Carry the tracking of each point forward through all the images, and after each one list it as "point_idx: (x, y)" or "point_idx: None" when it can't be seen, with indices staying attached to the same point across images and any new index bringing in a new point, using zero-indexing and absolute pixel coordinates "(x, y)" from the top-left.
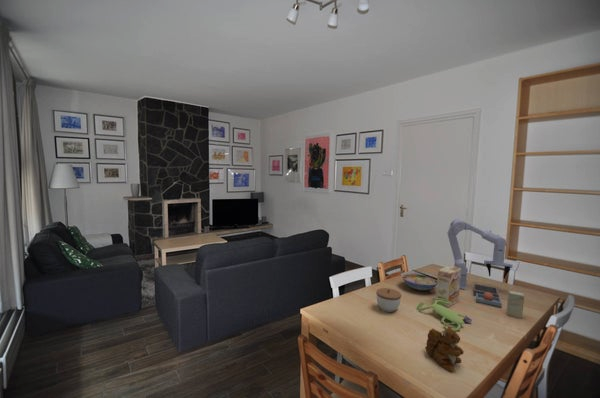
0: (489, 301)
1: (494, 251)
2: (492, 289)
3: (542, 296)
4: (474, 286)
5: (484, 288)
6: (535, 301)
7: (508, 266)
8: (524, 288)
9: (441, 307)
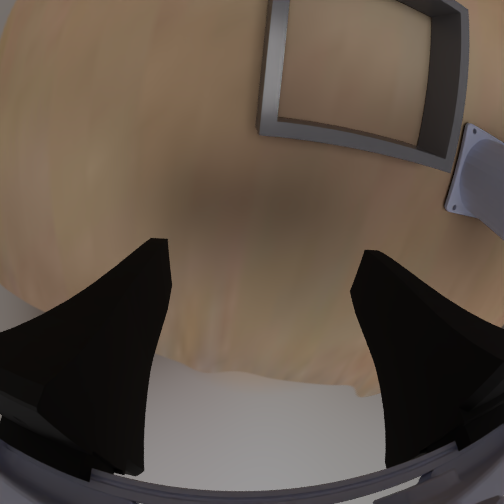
0: None
1: None
2: (303, 122)
3: (12, 253)
4: (460, 97)
5: (368, 135)
6: (18, 133)
7: (32, 466)
8: None
9: None
